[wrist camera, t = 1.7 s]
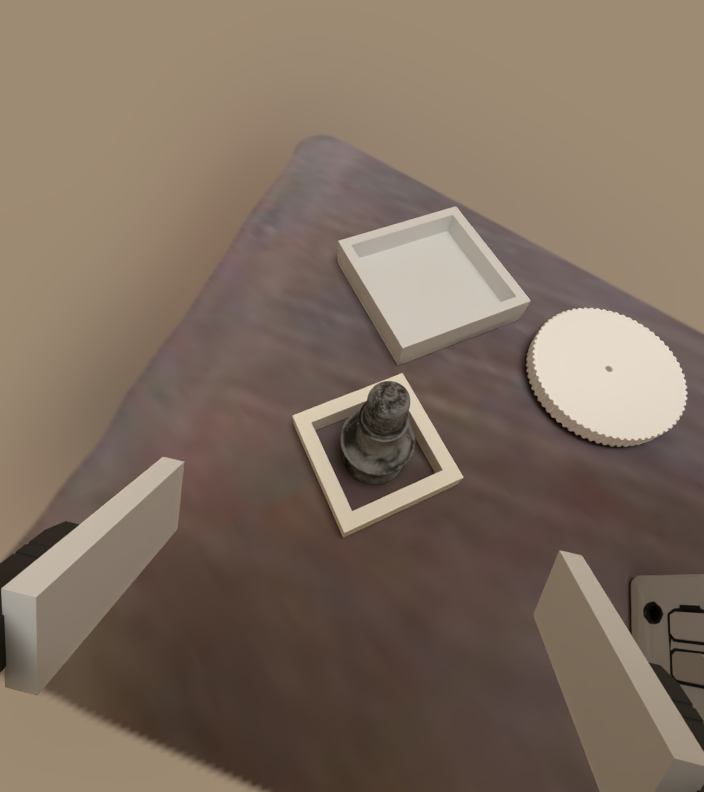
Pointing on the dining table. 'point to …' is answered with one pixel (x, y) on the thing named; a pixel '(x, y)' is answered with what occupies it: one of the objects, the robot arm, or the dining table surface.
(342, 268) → the parts tray
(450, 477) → the socket collar
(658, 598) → the electrical switch
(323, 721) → the dining table surface
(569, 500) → the dining table surface
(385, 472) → the chess piece
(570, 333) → the cream gear
